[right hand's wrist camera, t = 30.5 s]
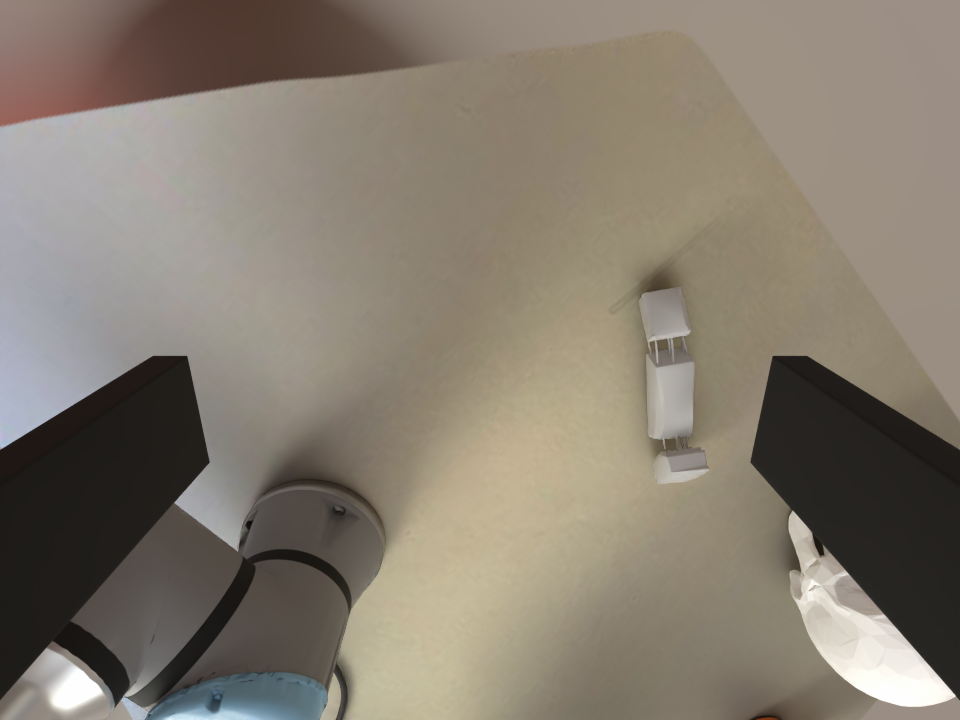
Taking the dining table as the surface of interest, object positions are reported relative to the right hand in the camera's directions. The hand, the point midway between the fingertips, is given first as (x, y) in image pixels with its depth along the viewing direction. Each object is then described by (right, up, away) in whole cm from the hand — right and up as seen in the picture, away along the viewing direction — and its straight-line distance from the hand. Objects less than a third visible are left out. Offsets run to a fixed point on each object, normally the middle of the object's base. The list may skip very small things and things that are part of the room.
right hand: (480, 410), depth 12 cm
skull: (+39, -19, +47) cm, 64 cm away
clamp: (+18, -1, +40) cm, 44 cm away
